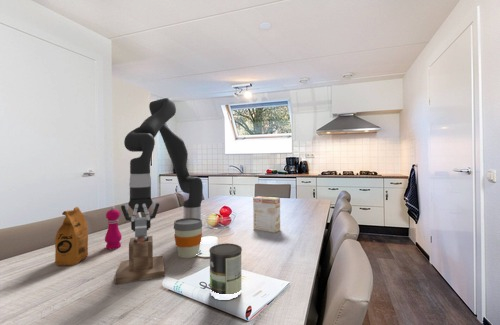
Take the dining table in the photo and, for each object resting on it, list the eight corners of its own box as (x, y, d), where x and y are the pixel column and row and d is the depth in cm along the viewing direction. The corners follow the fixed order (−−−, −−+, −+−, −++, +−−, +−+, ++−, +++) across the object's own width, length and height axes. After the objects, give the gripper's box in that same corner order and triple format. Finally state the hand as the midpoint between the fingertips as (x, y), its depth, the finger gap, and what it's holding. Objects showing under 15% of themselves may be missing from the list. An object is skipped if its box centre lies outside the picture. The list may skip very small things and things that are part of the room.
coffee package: (50, 267, 102) (49, 212, 102) (68, 255, 115) (67, 206, 114) (76, 266, 103) (75, 211, 103) (92, 254, 116) (91, 206, 116)
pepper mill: (114, 250, 121) (114, 208, 121) (101, 249, 122) (100, 207, 122) (125, 245, 128) (124, 205, 128) (112, 244, 130) (111, 204, 129)
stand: (162, 260, 109) (162, 228, 108) (164, 276, 94) (164, 239, 94) (120, 266, 103) (120, 232, 103) (115, 284, 88) (114, 244, 88)
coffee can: (208, 302, 77) (208, 255, 76) (210, 285, 87) (210, 243, 87) (243, 300, 78) (242, 253, 77) (241, 283, 88) (240, 242, 88)
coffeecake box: (280, 230, 153) (280, 197, 153) (275, 233, 147) (275, 199, 147) (259, 226, 161) (258, 195, 161) (253, 229, 155) (252, 197, 155)
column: (147, 262, 101) (146, 216, 101) (147, 266, 97) (146, 219, 97) (136, 264, 100) (135, 217, 99) (135, 268, 96) (134, 220, 96)
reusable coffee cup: (207, 251, 119) (207, 218, 119) (193, 261, 107) (192, 225, 107) (184, 248, 123) (184, 217, 123) (168, 257, 111) (167, 223, 111)
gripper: (160, 183, 104) (160, 226, 104) (120, 185, 99) (121, 229, 99) (160, 185, 97) (161, 230, 97) (118, 187, 92) (119, 235, 92)
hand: (141, 230), depth 98 cm, fingers closed on column, 4 cm apart
